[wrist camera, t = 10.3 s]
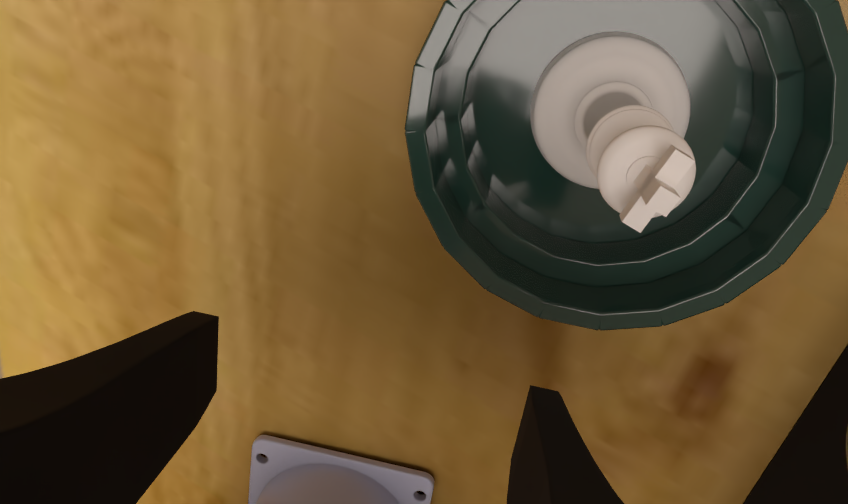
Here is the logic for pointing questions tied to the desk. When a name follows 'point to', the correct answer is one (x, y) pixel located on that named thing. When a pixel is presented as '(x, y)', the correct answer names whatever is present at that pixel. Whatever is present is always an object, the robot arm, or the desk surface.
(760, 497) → the nameplate
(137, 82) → the desk surface
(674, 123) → the chess piece
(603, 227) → the bowl
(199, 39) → the desk surface
